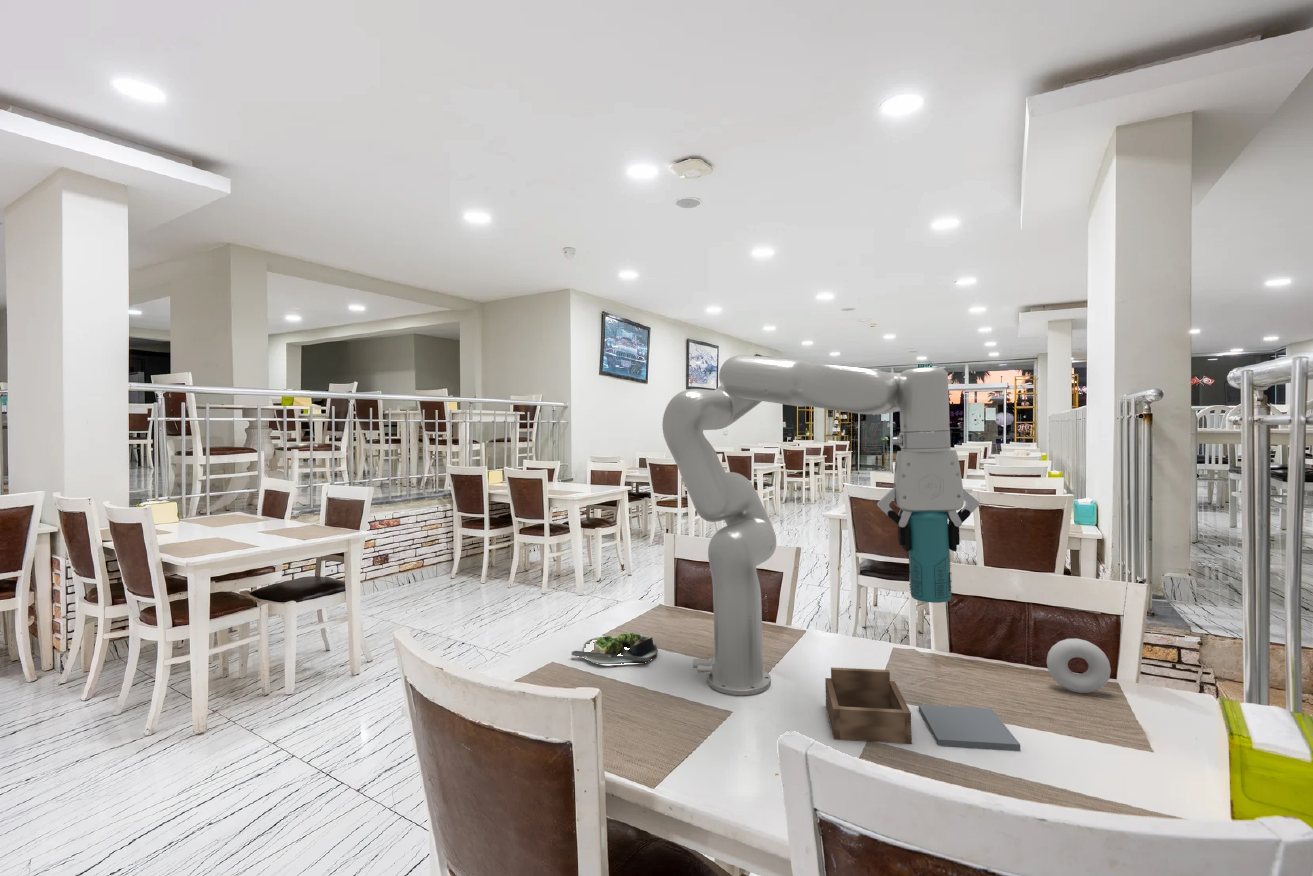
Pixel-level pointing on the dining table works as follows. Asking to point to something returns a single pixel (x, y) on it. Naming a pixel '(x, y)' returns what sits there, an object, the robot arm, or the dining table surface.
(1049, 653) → the donut
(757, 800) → the dining table surface
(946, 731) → the slate mat
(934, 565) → the beverage bottle
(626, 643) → the salad plate
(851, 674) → the brown wooden open box
